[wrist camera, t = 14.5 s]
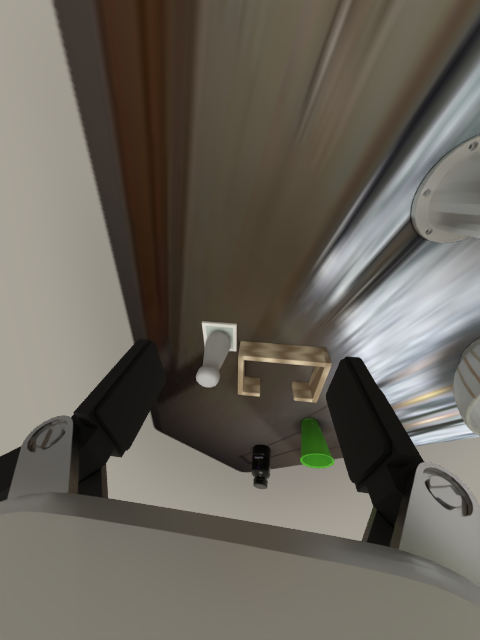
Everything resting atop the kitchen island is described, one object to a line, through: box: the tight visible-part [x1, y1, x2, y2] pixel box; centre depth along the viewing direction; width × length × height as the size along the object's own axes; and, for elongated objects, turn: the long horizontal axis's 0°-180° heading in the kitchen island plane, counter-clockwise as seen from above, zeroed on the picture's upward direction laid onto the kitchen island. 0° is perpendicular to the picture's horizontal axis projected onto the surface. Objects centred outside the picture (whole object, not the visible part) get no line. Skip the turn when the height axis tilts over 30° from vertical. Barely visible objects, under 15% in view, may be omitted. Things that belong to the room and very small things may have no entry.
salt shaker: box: [196, 331, 231, 387], centre depth 40 cm, size 6×6×13 cm
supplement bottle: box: [252, 445, 270, 489], centre depth 70 cm, size 7×7×12 cm
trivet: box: [202, 321, 237, 351], centre depth 45 cm, size 8×8×1 cm
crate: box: [238, 341, 332, 403], centre depth 47 cm, size 20×14×5 cm
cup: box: [300, 418, 334, 468], centre depth 57 cm, size 9×9×11 cm
